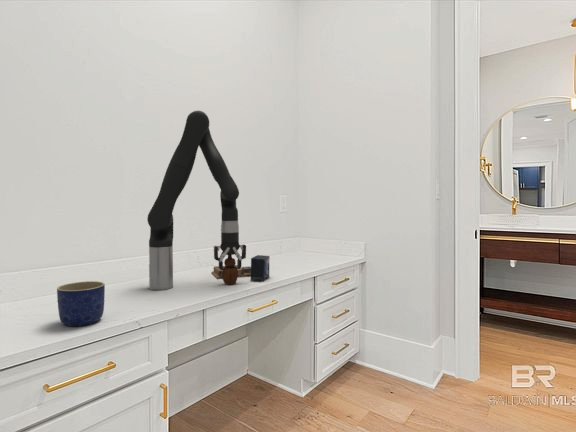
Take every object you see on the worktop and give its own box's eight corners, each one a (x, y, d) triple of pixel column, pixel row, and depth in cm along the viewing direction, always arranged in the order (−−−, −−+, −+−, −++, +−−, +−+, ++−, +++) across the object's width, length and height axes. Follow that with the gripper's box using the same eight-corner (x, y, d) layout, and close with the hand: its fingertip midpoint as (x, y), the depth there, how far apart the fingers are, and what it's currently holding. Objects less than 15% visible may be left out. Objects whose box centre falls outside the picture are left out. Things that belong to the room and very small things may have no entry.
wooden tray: (217, 279, 172) (217, 271, 172) (211, 273, 185) (211, 266, 185) (258, 275, 180) (258, 268, 180) (250, 270, 193) (250, 263, 192)
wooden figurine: (230, 286, 158) (229, 250, 157) (219, 284, 161) (219, 249, 160) (240, 283, 163) (240, 249, 163) (230, 281, 166) (230, 248, 166)
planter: (47, 326, 108) (46, 288, 107) (84, 313, 119) (84, 279, 119) (79, 331, 103) (78, 292, 103) (114, 318, 115) (114, 283, 114)
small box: (264, 282, 166) (264, 258, 166) (250, 281, 167) (250, 258, 167) (270, 277, 176) (270, 255, 176) (256, 276, 178) (256, 254, 177)
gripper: (215, 232, 155) (215, 272, 156) (248, 231, 160) (248, 269, 161) (211, 231, 162) (211, 269, 163) (243, 230, 167) (243, 266, 168)
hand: (230, 269), depth 162 cm, fingers open, 7 cm apart
